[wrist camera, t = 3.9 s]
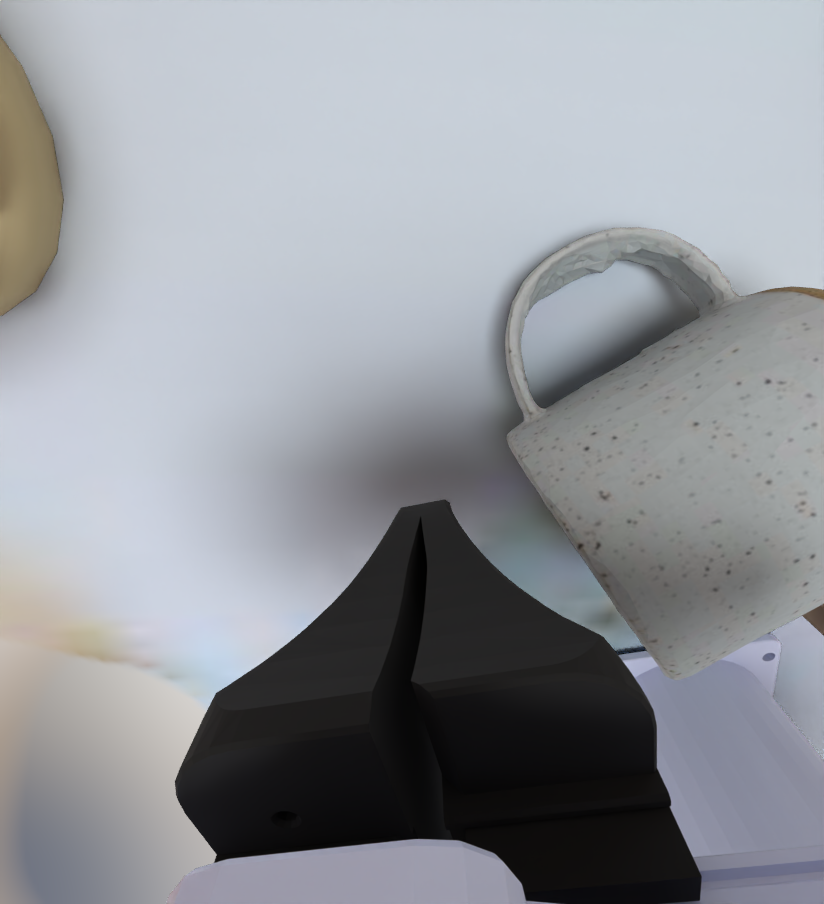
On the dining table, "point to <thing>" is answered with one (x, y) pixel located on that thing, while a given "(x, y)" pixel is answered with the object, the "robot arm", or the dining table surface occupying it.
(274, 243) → the dining table surface
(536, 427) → the ceramic mug
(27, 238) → the cake
